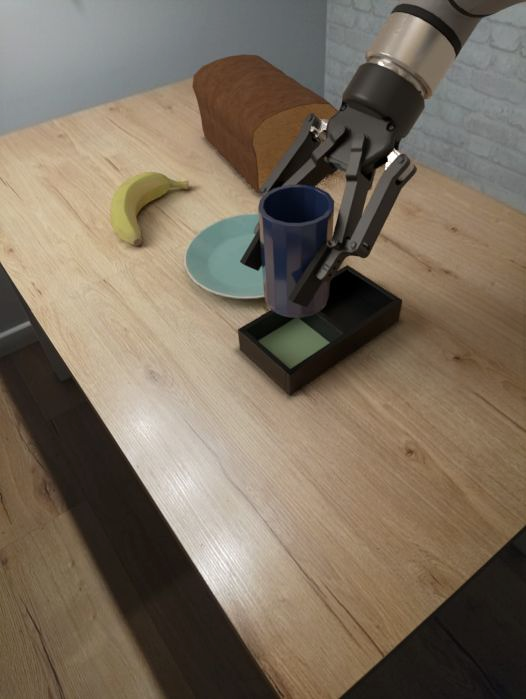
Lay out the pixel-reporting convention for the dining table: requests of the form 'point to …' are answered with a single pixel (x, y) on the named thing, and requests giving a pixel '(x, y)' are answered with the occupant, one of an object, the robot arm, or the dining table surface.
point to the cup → (293, 244)
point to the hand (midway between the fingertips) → (272, 283)
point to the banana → (137, 202)
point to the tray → (320, 331)
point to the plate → (225, 258)
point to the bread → (253, 112)
